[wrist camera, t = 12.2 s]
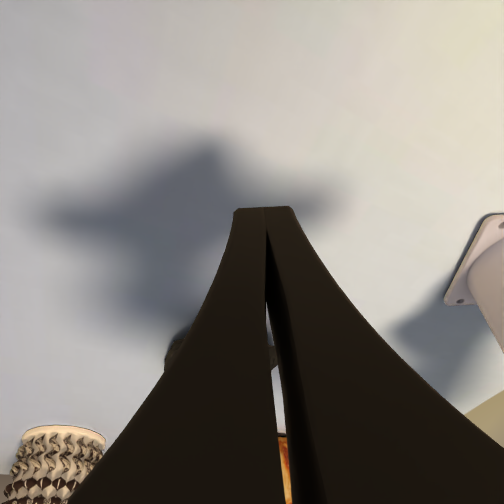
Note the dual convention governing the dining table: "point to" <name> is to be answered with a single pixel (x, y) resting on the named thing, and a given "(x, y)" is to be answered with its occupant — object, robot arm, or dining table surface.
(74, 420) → the dining table surface
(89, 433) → the decorative candle
